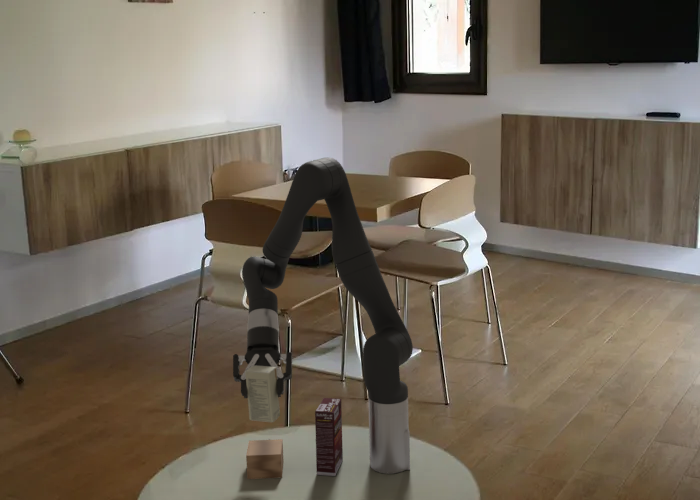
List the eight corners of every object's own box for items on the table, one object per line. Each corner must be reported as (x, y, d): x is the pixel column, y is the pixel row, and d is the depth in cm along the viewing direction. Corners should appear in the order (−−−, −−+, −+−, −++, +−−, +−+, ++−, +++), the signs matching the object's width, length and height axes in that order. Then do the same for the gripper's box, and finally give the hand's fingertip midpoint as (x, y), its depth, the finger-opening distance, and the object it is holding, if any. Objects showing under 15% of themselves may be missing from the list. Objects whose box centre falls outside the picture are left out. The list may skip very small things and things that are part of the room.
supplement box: (336, 476, 202) (334, 412, 199) (316, 475, 203) (313, 411, 200) (344, 460, 210) (342, 398, 207) (324, 458, 211) (322, 397, 208)
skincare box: (280, 415, 204) (278, 366, 202) (273, 423, 200) (270, 373, 198) (255, 412, 207) (252, 364, 204) (247, 420, 203) (244, 370, 200)
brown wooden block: (283, 462, 210) (282, 439, 209) (282, 478, 203) (281, 454, 201) (250, 463, 210) (249, 440, 209) (247, 479, 202) (246, 455, 201)
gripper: (231, 326, 206) (229, 391, 197) (292, 323, 206) (292, 388, 198) (234, 340, 212) (232, 404, 204) (293, 337, 213) (294, 401, 204)
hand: (262, 396), depth 201 cm, fingers closed on skincare box, 7 cm apart
